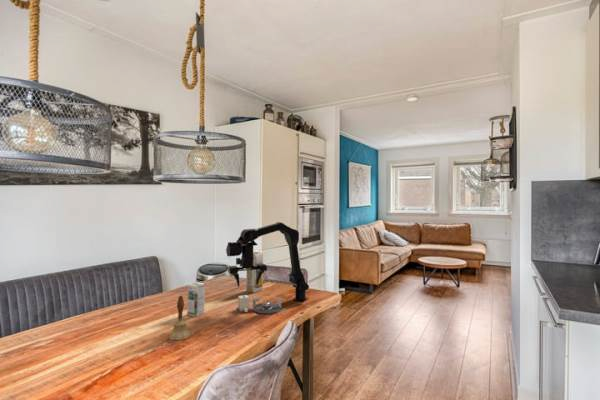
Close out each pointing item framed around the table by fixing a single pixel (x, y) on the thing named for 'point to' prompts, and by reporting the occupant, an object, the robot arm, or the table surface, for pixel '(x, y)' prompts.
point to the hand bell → (180, 324)
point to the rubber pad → (242, 310)
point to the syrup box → (196, 299)
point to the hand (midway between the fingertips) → (247, 285)
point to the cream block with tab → (243, 303)
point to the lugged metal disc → (266, 306)
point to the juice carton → (254, 274)
